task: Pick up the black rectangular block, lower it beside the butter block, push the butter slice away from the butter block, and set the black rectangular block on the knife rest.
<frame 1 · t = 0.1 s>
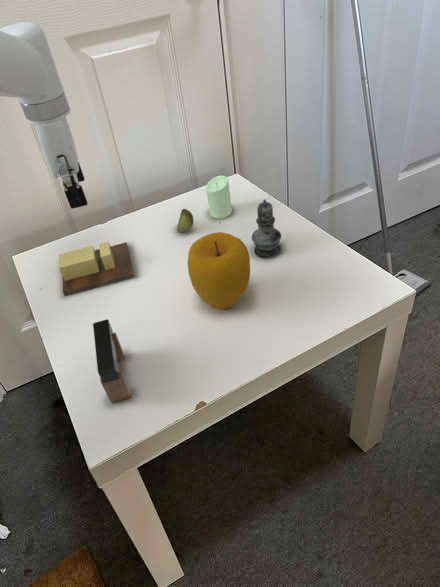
hand: (78, 193, 90), 14 cm above the table, tool pointing down, fingers open, 9 cm apart
apple: (224, 299, 84), on the table
butter board: (97, 269, 94), on the table
lime: (185, 230, 101), on the table
butter block: (81, 269, 93), point 1 cm above the table, touching butter board
knife rest: (118, 377, 74), on the table
black chess piece: (267, 250, 93), on the table
butter slice: (109, 262, 94), point 1 cm above the table, touching butter board
candle: (220, 213, 104), on the table
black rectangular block: (118, 377, 74), touching knife rest
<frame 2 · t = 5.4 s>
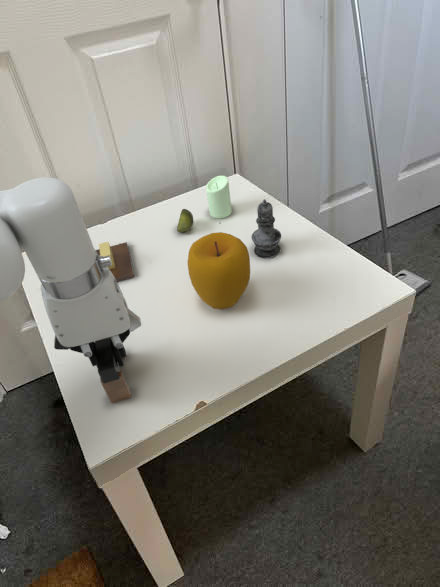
hand: (110, 361, 71), 4 cm above the table, tool pointing down, fingers closed on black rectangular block, 2 cm apart
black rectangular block: (118, 377, 74), touching gripper, knife rest
everything else where it was.
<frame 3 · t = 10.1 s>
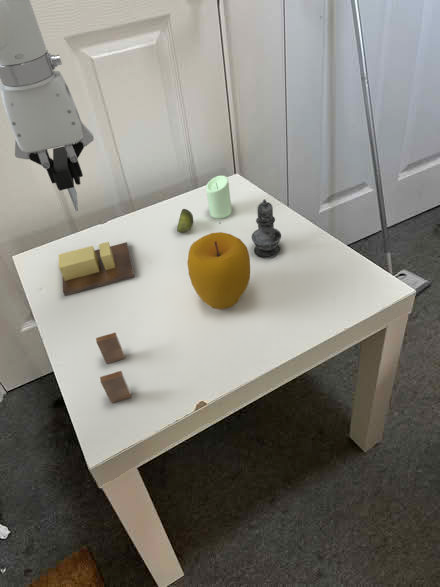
hand: (68, 182, 79), 21 cm above the table, tool pointing down, fingers closed on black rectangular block, 2 cm apart
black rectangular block: (76, 203, 81), point 17 cm above the table, touching gripper
everything else where it was.
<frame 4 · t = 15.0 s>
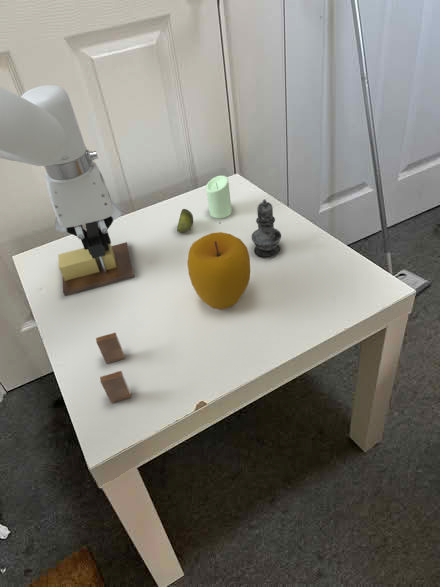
hand: (98, 247, 91), 5 cm above the table, tool pointing down, fingers closed on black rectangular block, 2 cm apart
butter slice: (110, 262, 94), point 1 cm above the table, touching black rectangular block
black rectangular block: (104, 264, 94), point 1 cm above the table, touching butter slice, gripper
everything else where it was.
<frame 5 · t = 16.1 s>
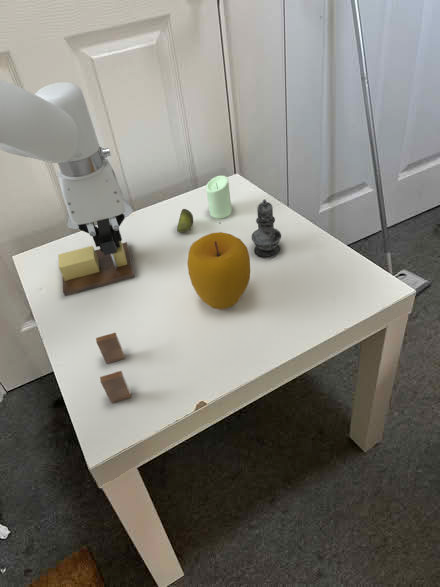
hand: (110, 245, 91), 5 cm above the table, tool pointing down, fingers closed on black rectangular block, 2 cm apart
butter slice: (121, 259, 94), point 1 cm above the table, touching butter board, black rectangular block
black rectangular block: (115, 261, 94), point 1 cm above the table, touching butter slice, gripper
everything else where it was.
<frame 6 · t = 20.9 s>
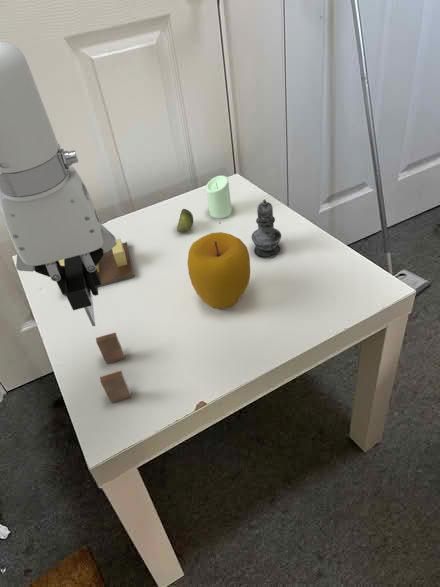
hand: (83, 291, 63), 18 cm above the table, tool pointing down, fingers closed on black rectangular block, 2 cm apart
butter slice: (121, 259, 94), point 1 cm above the table, touching butter board
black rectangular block: (93, 312, 66), point 14 cm above the table, touching gripper
everything else where it was.
when the fingers open (4 cm above the table, at t = 24.8 s): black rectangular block stays where it is, resting on knife rest.
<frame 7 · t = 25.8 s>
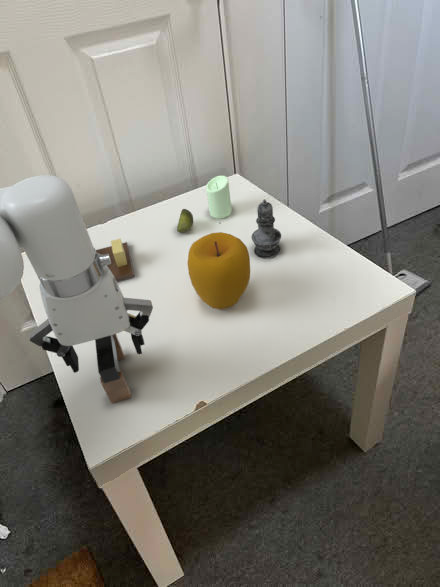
hand: (107, 356, 70), 6 cm above the table, tool pointing down, fingers open, 9 cm apart
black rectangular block: (118, 377, 74), resting on knife rest
everything else where it was.
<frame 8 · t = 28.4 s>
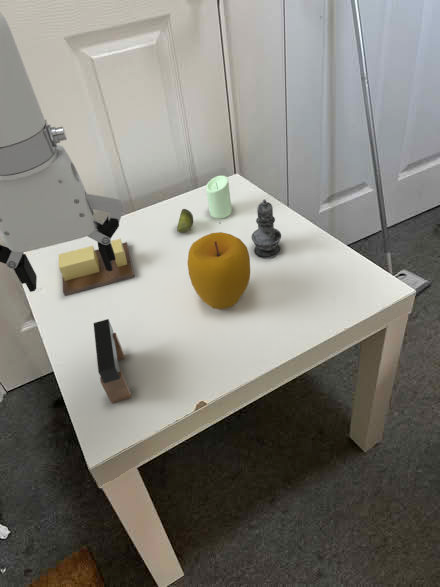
hand: (71, 274, 58), 22 cm above the table, tool pointing down, fingers open, 9 cm apart
nothing on the table moved.
at the end: butter slice moved 2.5 cm from its start; butter block moved 0.0 cm from its start; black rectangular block 0.1 cm off-centre on the knife rest, point 0.0 cm above the knife rest's base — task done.
